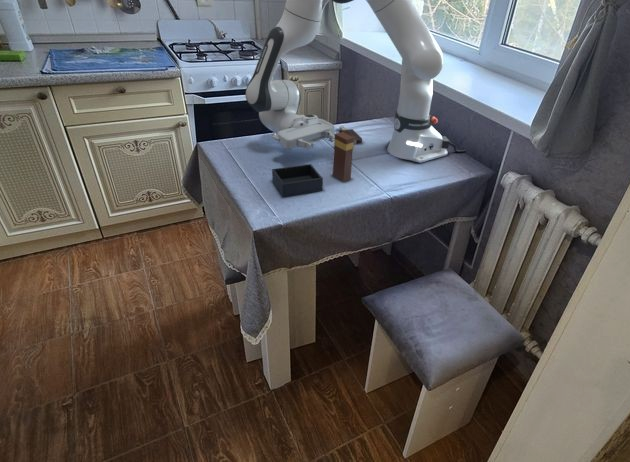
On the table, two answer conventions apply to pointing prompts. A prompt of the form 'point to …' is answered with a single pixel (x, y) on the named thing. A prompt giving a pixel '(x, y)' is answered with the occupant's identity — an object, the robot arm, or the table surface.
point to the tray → (297, 180)
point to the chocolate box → (343, 156)
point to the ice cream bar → (352, 134)
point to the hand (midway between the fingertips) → (322, 142)
